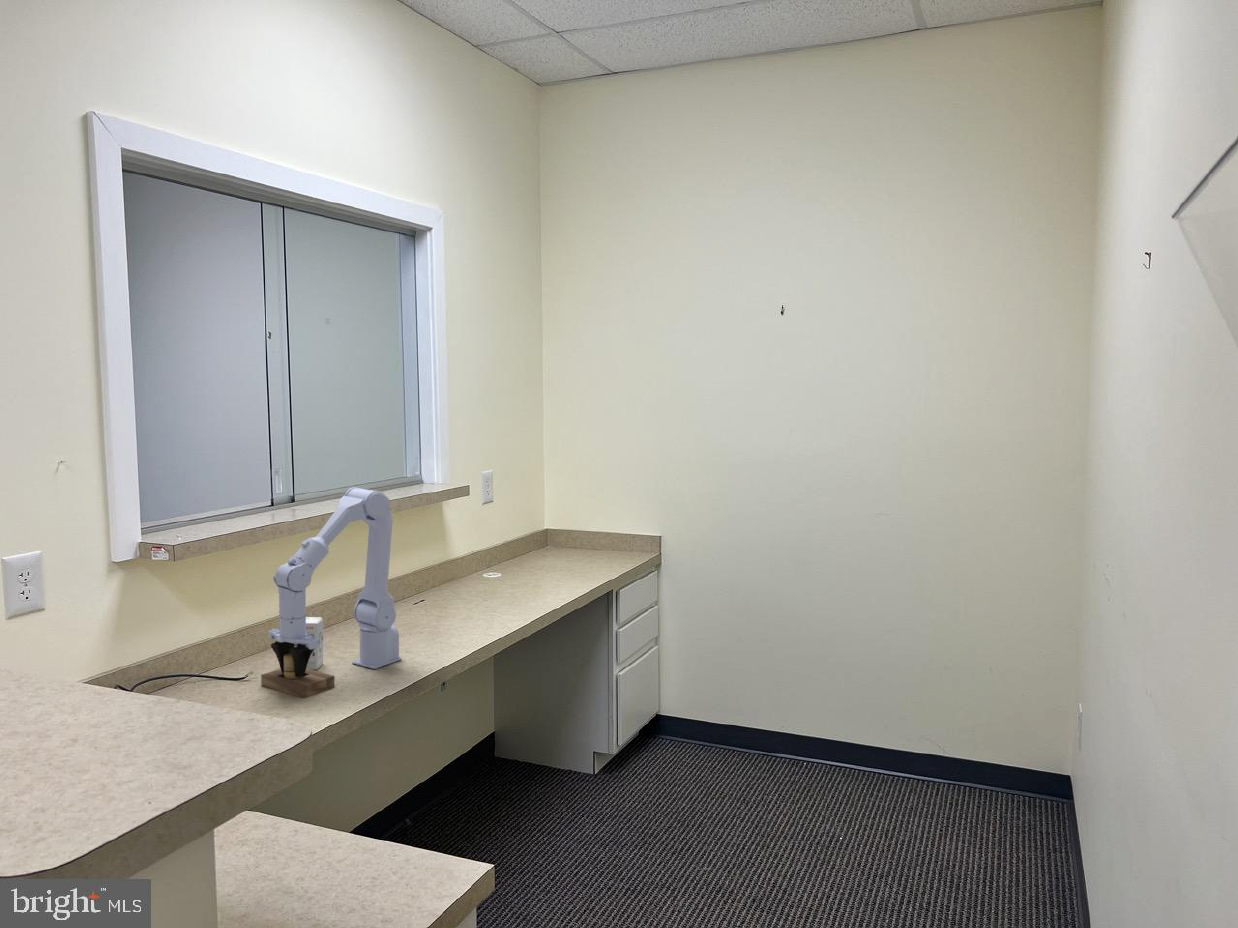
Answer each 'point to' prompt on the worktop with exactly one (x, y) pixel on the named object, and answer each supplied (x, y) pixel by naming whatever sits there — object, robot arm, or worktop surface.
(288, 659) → the peg
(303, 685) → the board
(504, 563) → the worktop surface
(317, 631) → the ink box
